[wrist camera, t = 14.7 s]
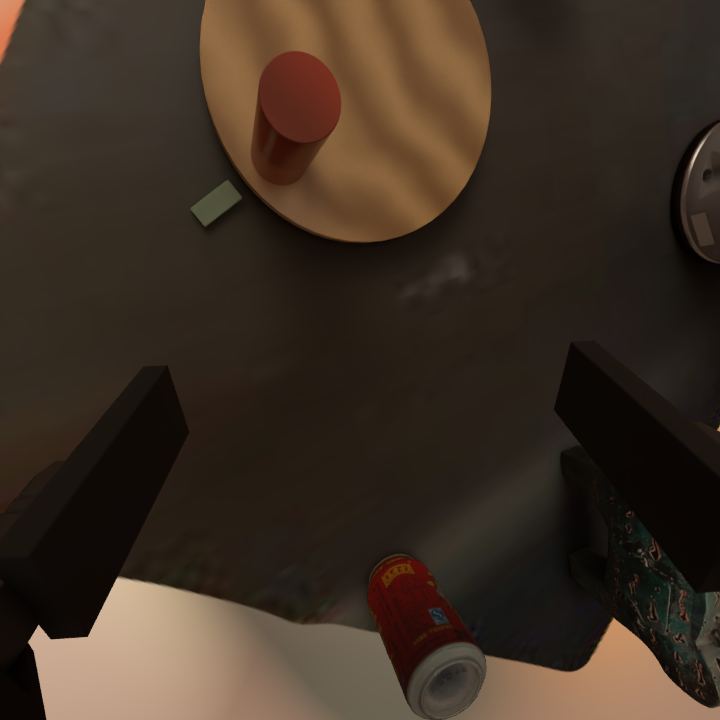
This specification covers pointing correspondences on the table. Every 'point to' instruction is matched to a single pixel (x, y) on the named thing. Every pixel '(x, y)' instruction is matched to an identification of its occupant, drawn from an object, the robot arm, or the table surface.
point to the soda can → (424, 639)
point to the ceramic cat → (647, 588)
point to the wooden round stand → (348, 107)
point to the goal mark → (216, 203)
